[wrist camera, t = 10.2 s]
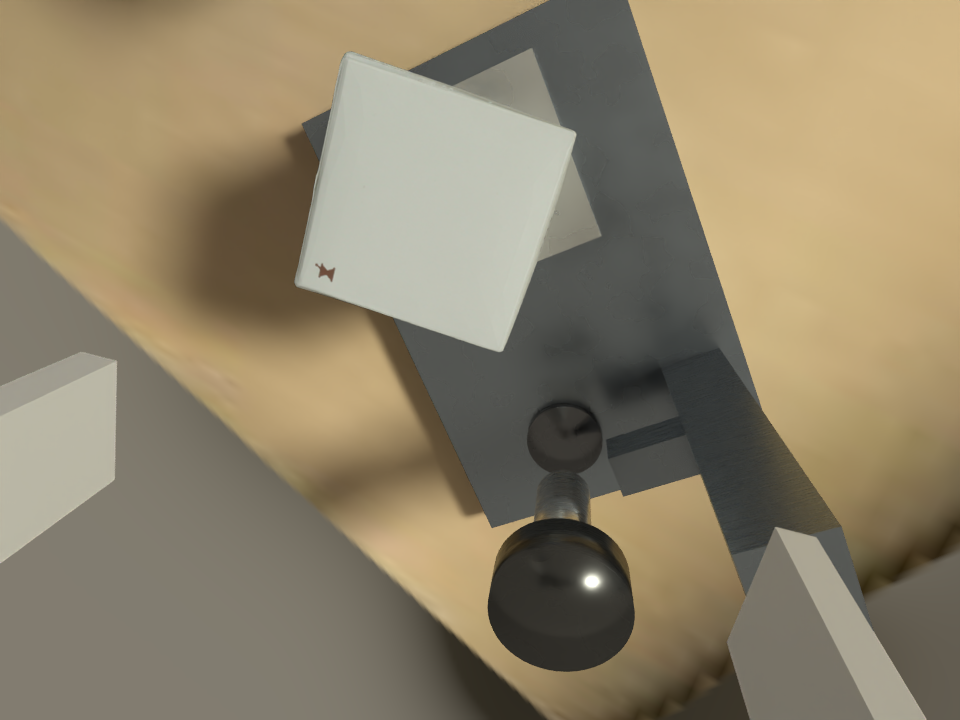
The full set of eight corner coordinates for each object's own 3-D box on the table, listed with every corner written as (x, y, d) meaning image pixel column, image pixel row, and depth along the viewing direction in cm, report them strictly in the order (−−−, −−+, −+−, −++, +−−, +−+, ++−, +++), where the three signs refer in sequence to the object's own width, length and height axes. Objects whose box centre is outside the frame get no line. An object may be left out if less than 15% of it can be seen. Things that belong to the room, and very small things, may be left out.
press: (316, 124, 34) (65, 115, 17) (613, -23, 30) (666, -220, 13) (495, 509, 40) (439, 783, 23) (762, 428, 36) (929, 685, 19)
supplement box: (526, 281, 33) (501, 365, 21) (386, 232, 33) (283, 288, 21) (579, 131, 30) (584, 131, 18) (427, 79, 30) (335, 45, 19)
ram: (491, 463, 30) (465, 573, 23) (596, 429, 29) (604, 534, 21) (532, 552, 31) (519, 684, 24) (634, 523, 30) (654, 653, 23)
